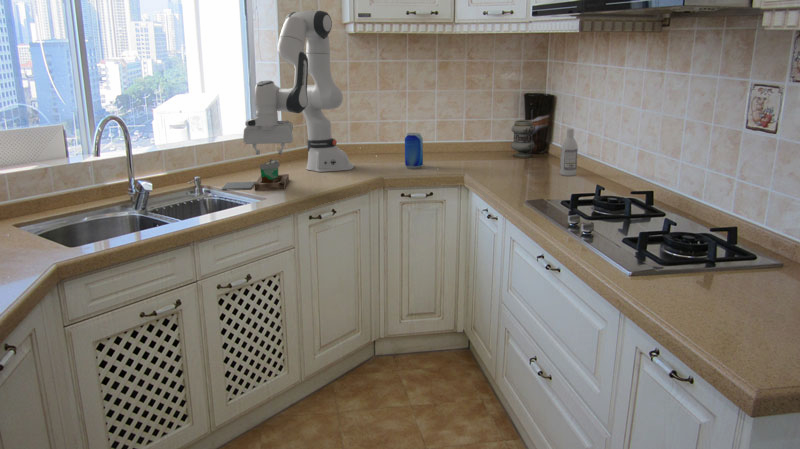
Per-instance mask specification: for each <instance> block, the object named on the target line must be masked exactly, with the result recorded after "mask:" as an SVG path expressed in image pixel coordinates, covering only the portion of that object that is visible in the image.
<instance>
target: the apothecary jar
mask: <svg viewBox="0 0 800 449" xmlns="http://www.w3.org/2000/svg"><path fill="white" fill-rule="evenodd" d="M511 131H512V132H513V141H512V142H511V144H510V147H511V149H512V150H513V151H516V152H517V153H515V154H513V155H512V156H513V158H516V159H517V158H518V159H530V158H532V157H533V155H532V154H531V153H529V151H532V150H533V149H535V147H536V143H535V141H534V136H533V134H534V132H535V131H536V126H535V125H533V121H532V120H529V119H519V120H515V121H514V124H513V125H512V127H511Z"/></svg>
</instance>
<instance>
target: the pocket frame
mask: <svg viewBox="0 0 800 449" xmlns="http://www.w3.org/2000/svg"><path fill="white" fill-rule="evenodd" d="M289 181H290V175H289V174H288V173H287V174H282V173H281V174H278V183H262V177H261V175H260V176H259V177H258V178H257V180H256V181H255V184H254V191H269V190H270V191H271V190H273V191H274V190H286V187H287V185H288V182H289Z"/></svg>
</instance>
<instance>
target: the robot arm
mask: <svg viewBox="0 0 800 449" xmlns="http://www.w3.org/2000/svg"><path fill="white" fill-rule="evenodd" d="M332 26H333V21H332V18H331V16H330V14H329V13H328V12H326V11H323V10H303V11H292V12H290V13H288V14H287V15H286V16H285V18H284V21H283V26H282V27H281V31H280V33H279V37H278V40H277V41H278V42H277V47H276V48H277V49H276V50H277V53H278V56H280V58H281V59H282V60H283V61H285V62H286V63H288V64H290V65H292V66H293V67H294V80H293V87H291V88H284V87H283V88H282V87H279V86H277V85H276V84H275V81H273V80H262V81H259V82H257V83H256V84H255V89H254V103H255V106H256V111H255V117H252V118H251V119H247V120H246V121H245V128H244V129H243V136H242V137H243V143H244V144H245V145H252V148H253V149H254V151H255V155H261V150H260V149H258V148H257V146H258V145H259V144H262V145H263V144H265V145H266V144H280V146H281V147H280V148H279V149H278V155H283V150H284V148H285V144H292V143H293V141H294V137H293V136H294V135H293V130H294V129H293V128H294V124H293V123H292V122H291V121H289V120H279V115H278V114H279V113H278V112H283V113H284V112H285V113H294V114H301V113H302V115H303V117H304V119H305V122H306V128H307V141H306V146H307V147H306V148H307V151H308V152H307V153H308V154H307V155H308V157H307V164H306V170H308V171H311V172H319V173H324V172H325V173H326V172H337V171H338V172H339V171H350V170H353V169H354V166H355V165H354V163H352V162H350V160H349V156H348V154H347V153H346V152H345V151H344V150H342V149H341V148H339V147H338V146H337V139H336V138H332V123H331V121H330V120H329V118H327V117H326V116H325V115H324V113H323V110H326V111H327V110H334V109H338V108H340V106H341V105H342V103H343V98H344V96H343V93H342V90H341V89H340V88H339V87H338V86H337V85H336V83H335V80H333V79H334V78H333V76H332V73H331V46H330V45H331V44H330V38H329V34H330V33H331V30H332ZM305 44H306V45H305ZM308 76H311V77H312V79H313V82H314V84H308V78H309V77H308Z"/></svg>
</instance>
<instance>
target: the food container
mask: <svg viewBox="0 0 800 449" xmlns="http://www.w3.org/2000/svg"><path fill="white" fill-rule="evenodd" d="M279 167H281V166H280V162H279V160H278V159H273V158H271V159H269V161H268V162H265V163H261V164H260V163H259V170H260V176H261V177H262V183H279V181H278V175H279Z"/></svg>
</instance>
